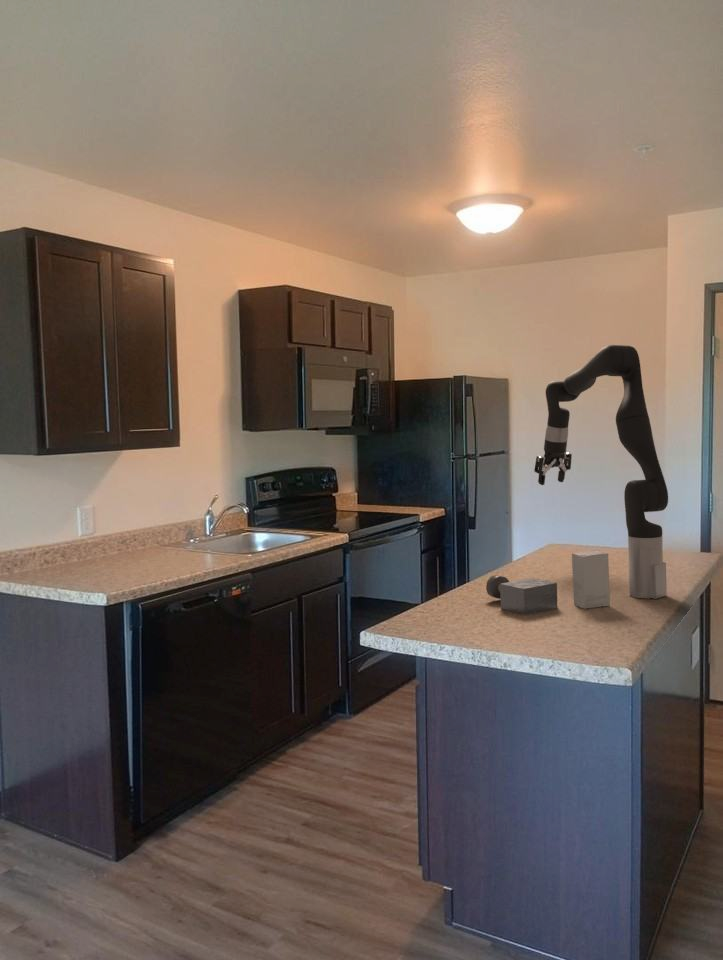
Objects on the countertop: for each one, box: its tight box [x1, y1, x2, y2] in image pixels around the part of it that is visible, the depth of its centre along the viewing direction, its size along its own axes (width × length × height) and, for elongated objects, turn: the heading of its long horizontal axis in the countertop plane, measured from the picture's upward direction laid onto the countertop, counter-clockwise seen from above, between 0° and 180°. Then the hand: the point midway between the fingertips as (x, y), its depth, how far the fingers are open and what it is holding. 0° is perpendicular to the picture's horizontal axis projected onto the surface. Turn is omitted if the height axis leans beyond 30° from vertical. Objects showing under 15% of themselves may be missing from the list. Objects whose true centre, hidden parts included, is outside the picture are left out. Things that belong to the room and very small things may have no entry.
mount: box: [500, 577, 559, 616], centre depth 215 cm, size 10×12×7 cm
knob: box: [485, 574, 510, 600], centre depth 222 cm, size 11×6×6 cm, turn 31°
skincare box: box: [571, 549, 611, 610], centre depth 214 cm, size 8×6×15 cm
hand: (551, 483), depth 274 cm, fingers open, 8 cm apart
